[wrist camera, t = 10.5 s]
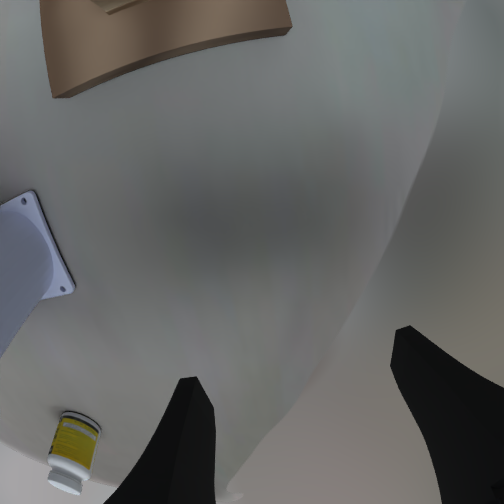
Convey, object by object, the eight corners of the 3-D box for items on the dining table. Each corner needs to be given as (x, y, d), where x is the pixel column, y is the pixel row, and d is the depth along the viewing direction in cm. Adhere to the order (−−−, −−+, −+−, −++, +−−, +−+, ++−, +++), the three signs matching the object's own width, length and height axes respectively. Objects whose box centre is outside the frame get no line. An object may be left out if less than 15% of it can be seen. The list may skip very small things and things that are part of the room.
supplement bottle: (57, 405, 26) (35, 472, 18) (98, 418, 27) (81, 489, 19) (66, 426, 29) (49, 486, 20) (104, 437, 30) (91, 501, 21)
